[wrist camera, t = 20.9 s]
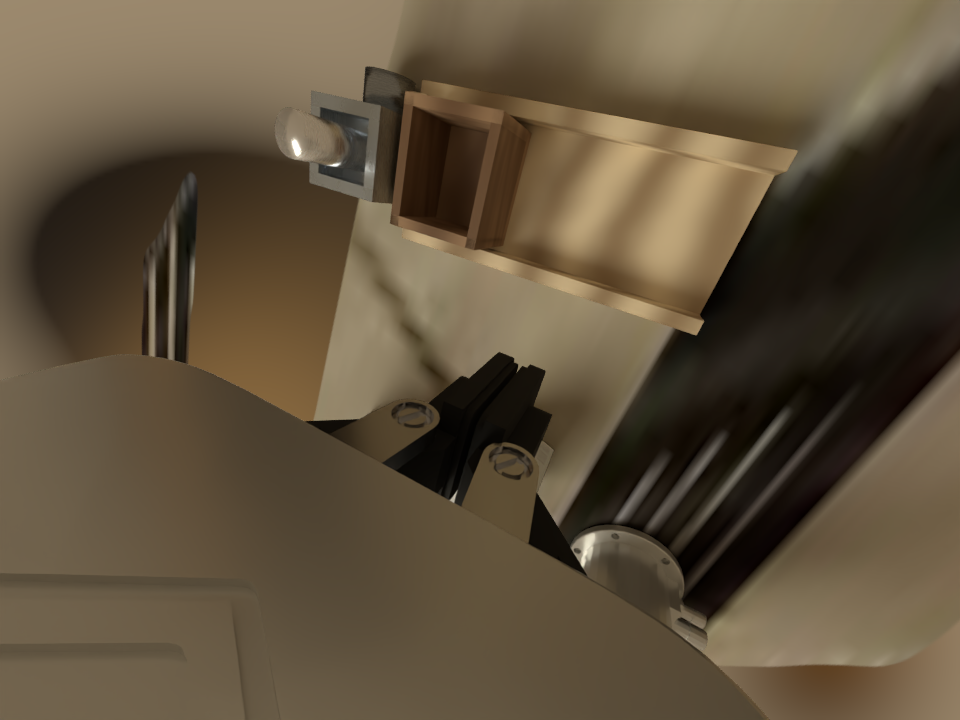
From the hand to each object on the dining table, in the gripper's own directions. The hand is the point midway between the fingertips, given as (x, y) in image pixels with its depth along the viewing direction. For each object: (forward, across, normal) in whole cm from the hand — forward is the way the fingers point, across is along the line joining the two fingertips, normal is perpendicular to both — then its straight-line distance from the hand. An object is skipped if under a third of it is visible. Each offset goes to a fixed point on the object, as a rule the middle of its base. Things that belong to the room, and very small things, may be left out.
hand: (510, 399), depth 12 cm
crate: (+24, +13, -6) cm, 28 cm away
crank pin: (+20, +23, -6) cm, 31 cm away
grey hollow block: (+25, +23, -8) cm, 35 cm away
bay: (+25, +5, -6) cm, 26 cm away
